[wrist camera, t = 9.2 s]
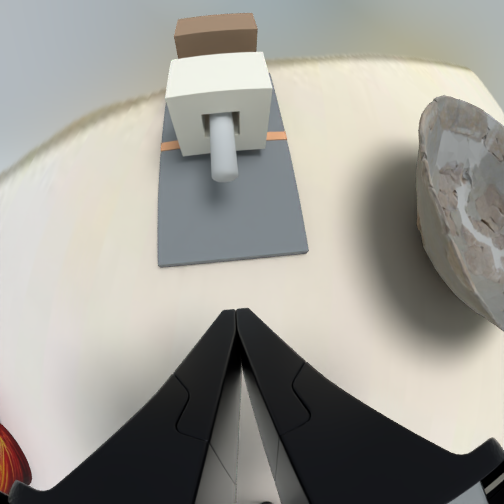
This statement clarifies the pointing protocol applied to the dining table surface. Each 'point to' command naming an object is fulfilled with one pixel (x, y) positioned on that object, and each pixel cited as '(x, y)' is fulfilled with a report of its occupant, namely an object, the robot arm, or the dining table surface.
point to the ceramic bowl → (463, 202)
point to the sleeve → (219, 99)
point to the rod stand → (226, 173)
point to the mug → (12, 462)
